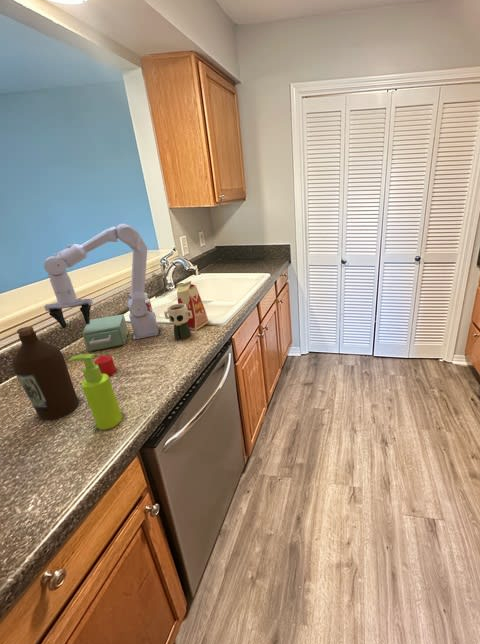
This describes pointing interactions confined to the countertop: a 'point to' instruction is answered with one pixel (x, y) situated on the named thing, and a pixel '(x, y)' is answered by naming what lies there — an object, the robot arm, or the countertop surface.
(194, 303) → the milk carton
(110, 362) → the red cube
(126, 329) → the green box
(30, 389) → the olive oil
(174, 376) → the countertop surface
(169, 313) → the character mug
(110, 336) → the drawer
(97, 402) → the soap dispenser
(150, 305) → the pill bottle
